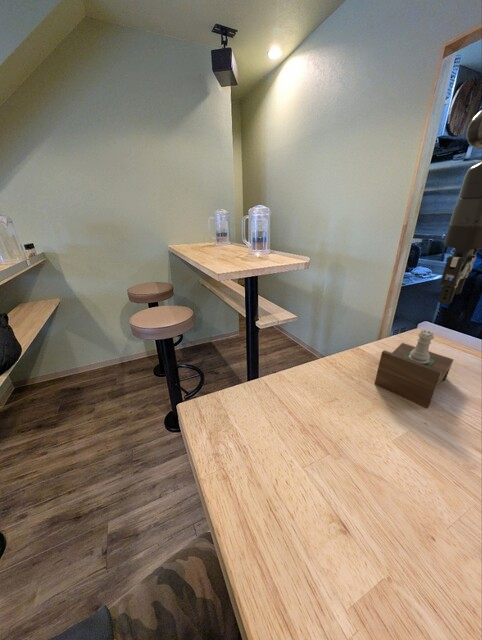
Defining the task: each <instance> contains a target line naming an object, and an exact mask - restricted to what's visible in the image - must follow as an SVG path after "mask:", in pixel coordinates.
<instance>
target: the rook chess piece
mask: <svg viewBox="0 0 482 640" xmlns="http://www.w3.org/2000/svg"><path fill="white" fill-rule="evenodd" d="M417 336H418V338H417V344H416V345H415V346H414V347H415V348H414V349H413V350H412V351H411V352H410V355H409V358H410V360H413V361H416V362H418V363H421V364H426V363H428V362H429V359H430V355H429V352H430V351H429V347H430V345H431V344H432V342H431V341H432V340H434V339H435V337H434V333H433V332H431V331H430V330H428V331H427V330H426V329H424V330H420V332H419V333H417ZM428 351H429V352H428Z"/></svg>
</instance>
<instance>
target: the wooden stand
mask: <svg viewBox="0 0 482 640" xmlns="http://www.w3.org/2000/svg"><path fill="white" fill-rule="evenodd" d="M415 347H416V346H413V345H411V344H408V343H405V342H402V343H400V344H399V345H398V346H397V347H396V348H395V349H394V350H392V352H391V351H389V350H386V349H384V350H382V351H381V354H380V358H379V362H378V367H377V372H376V375H375V378H374V379H375V380H374V385H376V386H378V387H380V388H383V389H385V390H387V391H389V392H390V393H393V394H395V395H397V396H399V397H402V398H404V399H406V400H409V401H411V402H413V403H415V404H417V405H419V406H421V407H423V408H424V409H425V408H426V409H429V408H430V406H431V404H432V402H433V398H434V396H435V393H436V391H437V388H438V387H439V385H440V383H441V382H445V381H446V380H447V378H448V376H449V372H450V370H451V368H452V366H453V363H454V360H455V359H454V358H450V357H447V356H444V355H442V354H438V353H436V352H432V351H429V350H428V352H429V355H430V359H429V362H428V363H426V364H421V363H418V362H416V361H413V360H410V358H409V355H410V352H411V351H412V350H413V349H414V348H415Z"/></svg>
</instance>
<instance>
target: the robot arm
mask: <svg viewBox="0 0 482 640" xmlns="http://www.w3.org/2000/svg"><path fill="white" fill-rule="evenodd" d="M465 135H466V136H465V137H466V141H467V143H468V144H469V145H470V147H472V148H475V149H482V109H480V110H479V111H478V112H477V113H476V114H475V115H474V117H473V118H472V119H471V121H470V123H469V124H468V126H467V129H466V134H465ZM443 245H444V246H445V247H448V248H453V249H454V251H453V253H452V255H449V256H448V257H447V258H446V262H445V266H444V269H443V272H442V275H441V279H440V281H439V285H440V286H441V289H440V293H439V296H438V300H437V302H438V303H440V304H444V305H450V304H451V303H452V301H453V297H454V295H460V294H461V293H462V290H463V287H464V284H465V281H466V279H467V278H468V277H469V275H470V273H471V272H472V269H473V268H474V267H473V266H474V264H475V262H476V259H477V253H478V250H482V161H480V162H478V163H476V164H474V165H472V166H470V167H469V168H468V169H467V171H466V173H465V174H464V178H463V181H462V184H461V188H460V191H459V196H458V199H457V201H456V204H455V205H454V208H453V210H452V214H451V217H450V221H449V224H448V228H447V232H446V234H445V239H444V242H443ZM449 278H452V279H449Z"/></svg>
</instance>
